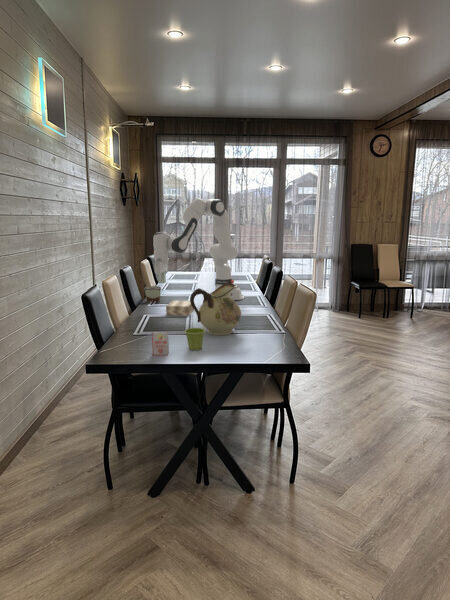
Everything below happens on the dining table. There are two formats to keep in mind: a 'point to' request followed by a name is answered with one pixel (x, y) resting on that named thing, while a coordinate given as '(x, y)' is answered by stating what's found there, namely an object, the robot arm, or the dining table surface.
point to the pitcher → (218, 310)
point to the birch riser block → (179, 308)
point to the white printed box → (160, 344)
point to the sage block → (162, 278)
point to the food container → (152, 293)
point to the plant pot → (195, 338)
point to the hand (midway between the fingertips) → (161, 278)
